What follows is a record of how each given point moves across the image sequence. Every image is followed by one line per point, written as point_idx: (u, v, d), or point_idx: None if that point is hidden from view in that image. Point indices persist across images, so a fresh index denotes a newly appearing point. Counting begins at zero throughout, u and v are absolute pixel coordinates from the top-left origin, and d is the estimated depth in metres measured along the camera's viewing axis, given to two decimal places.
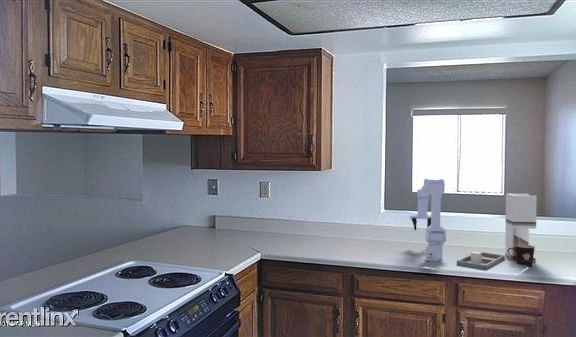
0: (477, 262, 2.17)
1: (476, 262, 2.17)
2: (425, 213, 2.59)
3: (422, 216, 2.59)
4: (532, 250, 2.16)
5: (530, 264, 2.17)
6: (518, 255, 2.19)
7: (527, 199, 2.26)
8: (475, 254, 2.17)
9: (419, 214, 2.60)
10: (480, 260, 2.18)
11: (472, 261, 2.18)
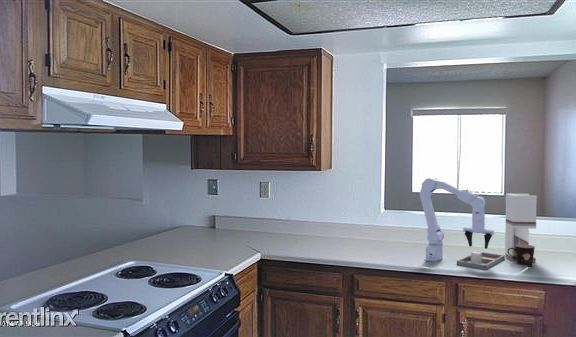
0: (477, 262, 2.17)
1: (476, 262, 2.17)
2: (479, 226, 2.17)
3: (475, 229, 2.18)
4: (532, 250, 2.16)
5: (530, 264, 2.17)
6: (518, 255, 2.19)
7: (527, 199, 2.26)
8: (475, 254, 2.17)
9: (472, 226, 2.20)
10: (480, 260, 2.18)
11: (472, 261, 2.18)
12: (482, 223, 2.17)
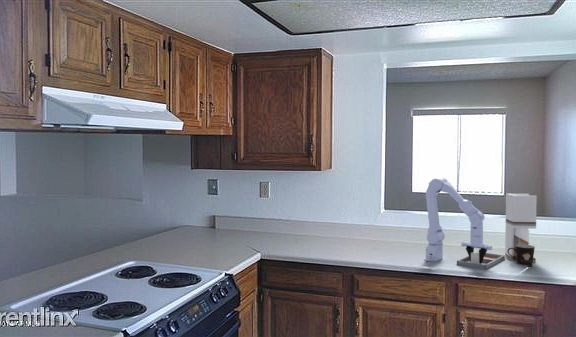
0: (477, 262, 2.17)
1: (476, 262, 2.17)
2: (477, 241, 2.16)
3: (473, 244, 2.17)
4: (532, 250, 2.16)
5: (530, 264, 2.17)
6: (518, 255, 2.19)
7: (527, 199, 2.26)
8: (475, 254, 2.17)
9: (470, 241, 2.19)
10: None
11: (472, 261, 2.18)
12: (480, 238, 2.16)
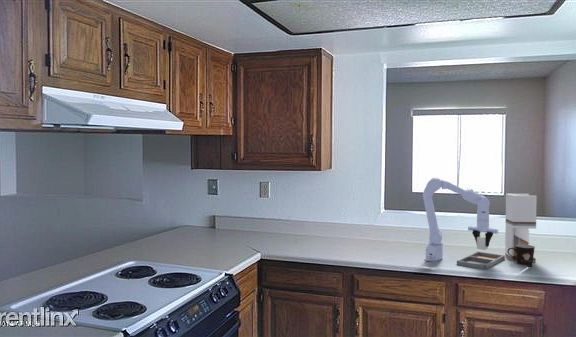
0: (483, 246, 2.22)
1: (482, 246, 2.23)
2: (483, 225, 2.22)
3: (479, 228, 2.23)
4: (532, 250, 2.16)
5: (530, 264, 2.17)
6: (518, 255, 2.19)
7: (527, 199, 2.26)
8: (481, 238, 2.23)
9: (477, 225, 2.25)
10: None
11: (478, 245, 2.24)
12: (486, 222, 2.22)
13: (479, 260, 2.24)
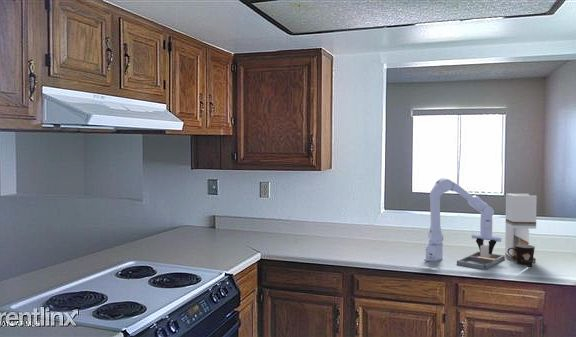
0: (486, 254, 2.26)
1: (485, 254, 2.27)
2: (486, 233, 2.26)
3: (483, 236, 2.27)
4: (532, 250, 2.16)
5: (530, 264, 2.17)
6: (518, 255, 2.19)
7: (527, 199, 2.26)
8: (484, 247, 2.27)
9: (480, 233, 2.29)
10: None
11: (482, 253, 2.28)
12: (490, 230, 2.26)
13: (479, 260, 2.24)
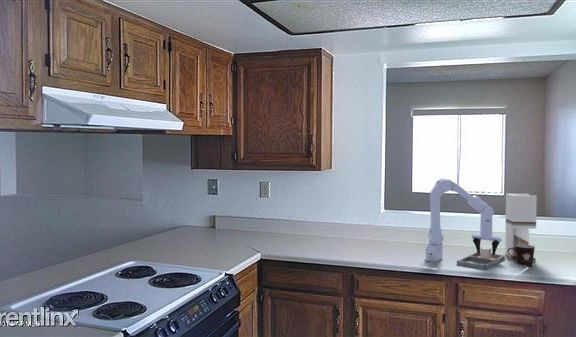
0: (486, 257, 2.26)
1: (485, 257, 2.27)
2: (486, 233, 2.26)
3: (483, 236, 2.27)
4: (532, 250, 2.16)
5: (530, 264, 2.17)
6: (518, 255, 2.19)
7: (527, 199, 2.26)
8: (484, 250, 2.27)
9: (480, 234, 2.29)
10: (489, 255, 2.27)
11: (482, 256, 2.28)
12: (490, 230, 2.26)
13: (479, 260, 2.24)
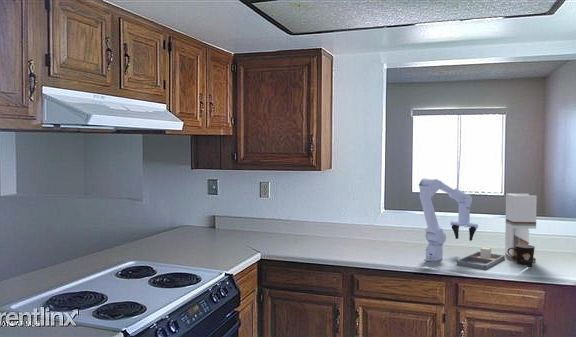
0: (486, 257, 2.26)
1: (485, 257, 2.27)
2: (464, 220, 2.37)
3: (460, 222, 2.38)
4: (532, 250, 2.16)
5: (530, 264, 2.17)
6: (518, 255, 2.19)
7: (527, 199, 2.26)
8: (484, 250, 2.27)
9: None
10: (489, 255, 2.27)
11: (482, 256, 2.28)
12: (467, 217, 2.37)
13: (479, 260, 2.24)
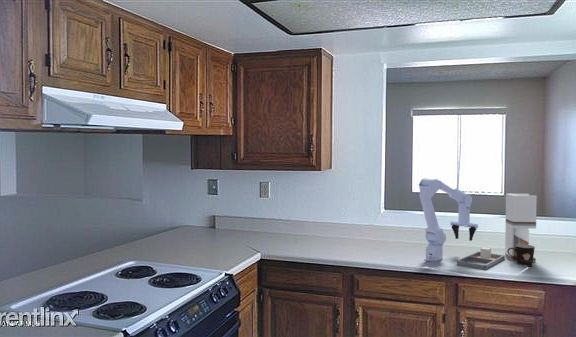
0: (486, 257, 2.26)
1: (485, 257, 2.27)
2: (464, 220, 2.37)
3: (460, 222, 2.38)
4: (532, 250, 2.16)
5: (530, 264, 2.17)
6: (518, 255, 2.19)
7: (527, 199, 2.26)
8: (484, 250, 2.27)
9: (458, 220, 2.40)
10: (489, 255, 2.27)
11: (482, 256, 2.28)
12: (467, 217, 2.37)
13: (479, 260, 2.24)
